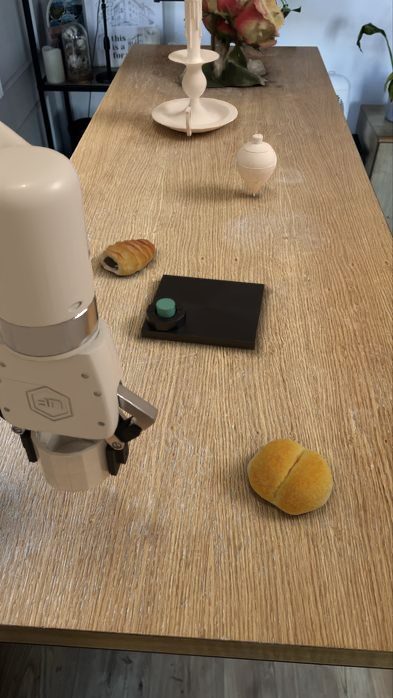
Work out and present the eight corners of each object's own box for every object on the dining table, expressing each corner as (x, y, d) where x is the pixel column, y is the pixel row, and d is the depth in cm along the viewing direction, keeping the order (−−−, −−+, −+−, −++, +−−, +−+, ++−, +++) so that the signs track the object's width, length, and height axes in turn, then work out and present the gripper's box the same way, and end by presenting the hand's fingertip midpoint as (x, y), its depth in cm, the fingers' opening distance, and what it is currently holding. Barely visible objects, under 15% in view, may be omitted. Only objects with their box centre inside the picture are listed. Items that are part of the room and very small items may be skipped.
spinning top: (226, 196, 114) (227, 135, 106) (252, 183, 118) (255, 124, 111) (256, 209, 110) (260, 147, 102) (281, 195, 114) (287, 134, 106)
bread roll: (308, 531, 60) (313, 509, 57) (236, 486, 64) (237, 464, 61) (345, 477, 65) (351, 454, 62) (276, 439, 69) (278, 416, 66)
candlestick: (142, 148, 132) (131, 7, 114) (159, 109, 151) (152, -18, 132) (233, 151, 130) (238, 8, 112) (239, 111, 149) (244, -18, 130)
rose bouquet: (283, 87, 162) (293, -43, 142) (177, 88, 162) (173, -41, 142) (272, 59, 181) (280, -58, 162) (178, 61, 181) (174, -56, 161)
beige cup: (30, 489, 55) (17, 449, 51) (57, 431, 61) (48, 391, 57) (103, 501, 55) (96, 462, 51) (124, 441, 60) (120, 401, 56)
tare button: (154, 317, 82) (154, 308, 81) (159, 306, 84) (158, 297, 83) (173, 319, 82) (172, 310, 81) (176, 307, 84) (176, 299, 83)
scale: (141, 337, 83) (139, 321, 81) (163, 281, 93) (162, 265, 91) (254, 350, 81) (255, 333, 79) (264, 291, 91) (265, 275, 89)
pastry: (138, 243, 102) (136, 224, 99) (166, 258, 98) (165, 238, 96) (96, 266, 97) (94, 246, 94) (124, 282, 93) (122, 262, 91)
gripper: (-83, 332, 43) (-24, 475, 55) (146, 363, 41) (156, 505, 53) (-35, 274, 49) (9, 415, 61) (170, 298, 47) (173, 440, 58)
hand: (77, 456), depth 57 cm, fingers closed on beige cup, 7 cm apart
